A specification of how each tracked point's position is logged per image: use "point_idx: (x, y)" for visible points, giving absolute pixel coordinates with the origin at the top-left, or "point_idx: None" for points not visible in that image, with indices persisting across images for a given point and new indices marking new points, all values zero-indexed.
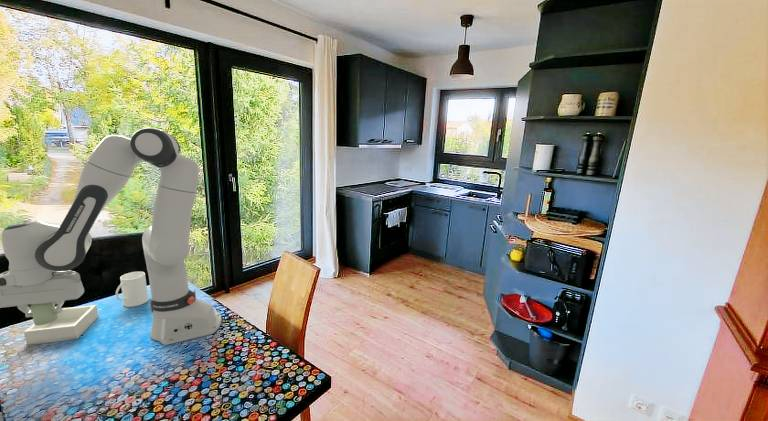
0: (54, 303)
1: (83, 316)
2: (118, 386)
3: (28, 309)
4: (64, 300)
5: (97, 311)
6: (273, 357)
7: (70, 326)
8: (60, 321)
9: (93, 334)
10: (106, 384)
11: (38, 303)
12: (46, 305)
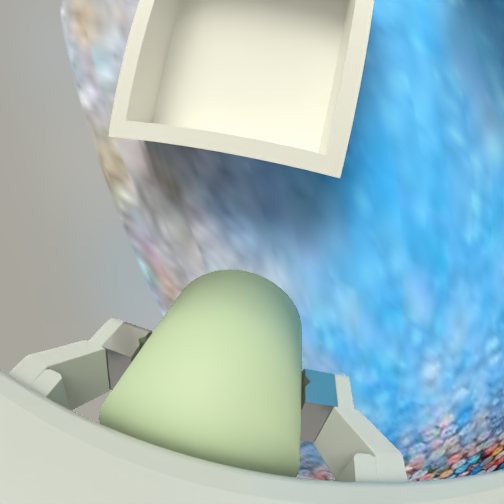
0: (297, 414)
1: (356, 68)
2: (421, 456)
3: (93, 370)
4: (397, 464)
5: None
6: None
7: (317, 171)
8: None
9: (384, 163)
10: (406, 448)
11: (156, 443)
12: None
